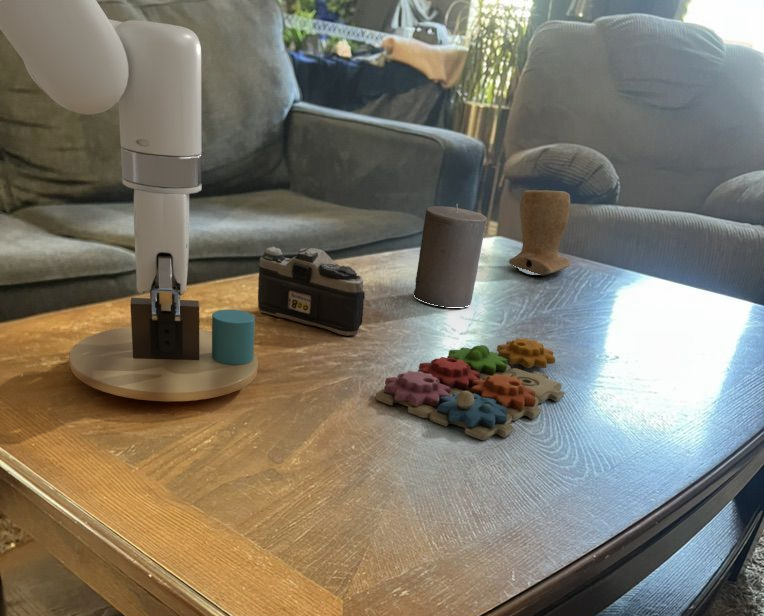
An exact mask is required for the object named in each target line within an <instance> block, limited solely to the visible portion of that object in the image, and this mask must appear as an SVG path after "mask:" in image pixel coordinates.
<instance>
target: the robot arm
mask: <svg viewBox="0 0 764 616" xmlns="http://www.w3.org/2000/svg"><path fill="white" fill-rule="evenodd" d="M0 31H1V33H2V34H3V35H4V36H5V38H6V39H7V41H8V42H9V43H10V45H11V46H12V47H13V49H14V50H15V51H16V53H17V54H18V55H19V57H20V58H21V59H22V61H23V64H24V66H25V69H26V70H27V73H28V74H29V76H30V77H31V79H32V81H34V83H35V84H36V86H38V88H39V89H41V90H42V91H43V92H44V93H45V94H46V95H47V96H48V97H49V98H50V99H51V100H53V101H54V102H55V103H56V104H58V105H59V106H60V107H62V108H64V109H66V110H68V111H70V112H73V113H76V114H81V115H96V114H101V113H104V112H106V111H108V110H109V109H110V110H111V108H113V107H114V106H115V105H116V104H117V105H118V120H119V141H120V142H119V143H120V155H121V157H120V158H121V176H122V177H121V179H122V186H125V187H127V188H129V189H133V233H134V234H133V235H134V237H133V238H134V257H135V258H134V259H135V260H134V261H135V278H136V279H135V282H136V291H137V292H138V293H139V294H140V295H144V292H149V297H150V298H152V318H150V342H151V355H152V356H153V357H178V358H179V357H182V356H183V326H182V319H180V300H181V297H182V296H183V295H184V294H186V292H187V282H188V272H189V271H188V269H189V256H190V255H189V253H190V194H197V193H199V192H201V191H202V189H203V187H202V47H201V46H202V45H201V42H200V39H199V37H198V35H197V34H196V33H195V32H194V31H193V30H192V29H189V28H187V27H184V26H182V25H176V24H170V23H163V22H156V21H149V20H137V19H132V20H131V19H130V20H125V21H120V20H115V19H110V18H108V17H107V15H106V13H105V11H104V10H103V9H102V7H101V6H100V4H99V2H98V0H0ZM174 310H175V314H174ZM157 311H158V313H157ZM157 316H158V318H157ZM174 317H175V318H174Z"/></svg>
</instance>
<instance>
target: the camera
mask: <svg viewBox="0 0 764 616" xmlns="http://www.w3.org/2000/svg"><path fill="white" fill-rule="evenodd" d="M258 266H259V267H258V268H259V269H258V284H257V286H258V287H257V288H258V289H257V307H258V310H259V312H261V313H263V314H267V315H270V316H273V317H277V318H280V319H287V320H289V321H292V322H293V321H294V322H297V323H300V324H304V325H307V326H314V327H317V328H321V329H325V330H328V331H330V332H333V333H335V334H338V335H341V336H347V337H348V336H349V337H350V336H353V337H354V336H356V335H357V334H358V332H359V330H360V327H361V326H362V324H363V317H364V306H365V304H364V302H365V294H366V293H365V290H364V281H365V279H364V278H363V277H362V276H360V275H358V273H357V272H356V270H355V269H354V268H352V267H351V266H349V265H339V264H338V263H335V261H334V260H333V259H332V258H331V257H330V255H329V254H328V253H326V252H325V251H324V250H323V249H320V248H315V247H310V248H306V247H305V248H300V249H299V251H298V253H297V255H296V256H294V257H292V258H289V257H285V256H284V253H283V252H282V249H280V248H279V247H275V246H273V245H272V246H270V247H267V248H266V249H265V251H264V253H263V255H262V256H261V257H260V258H259V265H258Z"/></svg>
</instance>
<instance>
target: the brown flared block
mask: <svg viewBox="0 0 764 616" xmlns="http://www.w3.org/2000/svg"><path fill="white" fill-rule="evenodd" d="M570 211H571V195H570V193H568V192H567V191H562V190H548V189H547V190H546V189H545V190H538V189H537V190H534V189H531V190H530V189H527V190H524V191H523V192H522V194H521V197H520V205H519V218H520V227H521V239H522V248H521V251H520V252H519V253H518V254H516V255H515V256H514V257H512V258H510V259H509V260H508V263H509V264H510V265H511V266H512V265H514V266H516V267H519V268H522V269H526V270H529V271H531V272H534V273H538V274H541V276H547V275H551V274H554V273H557V272H560V271H562V270H564V269H566V268H568V267H569V266H570V265H571V264H572V261H571V260H570V259H568V258H565V257H563V256H561V255H560V254H559V247H560V244H561V241H562V238H563V235H564V233H565V230H566V229H567V226H568V223H569V217H570Z"/></svg>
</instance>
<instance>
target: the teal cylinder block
mask: <svg viewBox="0 0 764 616" xmlns="http://www.w3.org/2000/svg"><path fill="white" fill-rule="evenodd" d="M255 320H256V317H255V315H254V314H253V313H250V312H248V311H245V310H240V309H220V310H216V311H214V312H212V315H211V332H212V358H213V359H214V360H215V361H217V362H220V363H223V364H229V365H242V364H247V363H250V362H251V361H252V360H253V353H255V352H254V351H255V350H254V347H255V327H256V326H255V324H256V323H255V322H256V321H255Z"/></svg>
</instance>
